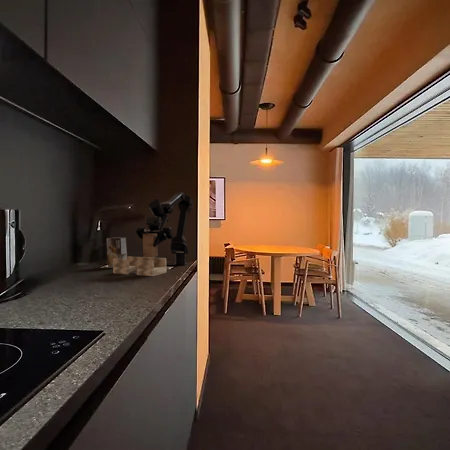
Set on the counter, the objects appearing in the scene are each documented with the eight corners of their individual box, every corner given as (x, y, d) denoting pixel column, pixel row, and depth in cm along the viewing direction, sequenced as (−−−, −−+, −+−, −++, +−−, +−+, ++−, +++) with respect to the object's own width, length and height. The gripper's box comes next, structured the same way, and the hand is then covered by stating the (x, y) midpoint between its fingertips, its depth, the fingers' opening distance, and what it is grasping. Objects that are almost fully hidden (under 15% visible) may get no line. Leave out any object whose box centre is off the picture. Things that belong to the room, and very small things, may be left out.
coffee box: (128, 266, 217) (127, 237, 216) (121, 268, 211) (121, 238, 210) (113, 266, 220) (112, 237, 219) (106, 267, 213) (106, 238, 213)
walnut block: (148, 255, 194) (148, 233, 193) (157, 256, 192) (157, 233, 192) (143, 257, 189) (142, 234, 188) (152, 257, 187) (152, 234, 187)
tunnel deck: (113, 273, 194) (112, 258, 194) (128, 269, 204) (128, 256, 204) (152, 276, 183) (152, 261, 183) (166, 272, 194) (166, 258, 193)
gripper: (137, 211, 196) (125, 235, 186) (170, 211, 190) (160, 235, 180) (145, 226, 204) (134, 250, 194) (178, 226, 198) (168, 250, 188)
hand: (148, 246), depth 189 cm, fingers closed on walnut block, 5 cm apart
